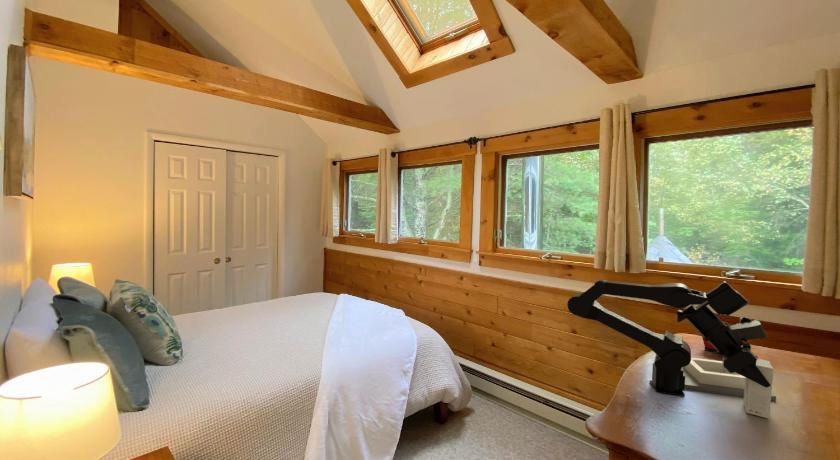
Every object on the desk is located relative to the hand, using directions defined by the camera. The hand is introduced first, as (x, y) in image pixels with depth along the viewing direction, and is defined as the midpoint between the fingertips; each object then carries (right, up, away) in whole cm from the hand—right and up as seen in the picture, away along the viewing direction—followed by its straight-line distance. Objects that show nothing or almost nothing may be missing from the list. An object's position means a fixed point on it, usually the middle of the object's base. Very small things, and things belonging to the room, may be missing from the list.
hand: (766, 381), depth 87 cm
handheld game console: (+22, -7, +37) cm, 44 cm away
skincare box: (-1, -8, +1) cm, 8 cm away
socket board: (+1, -7, +17) cm, 18 cm away
